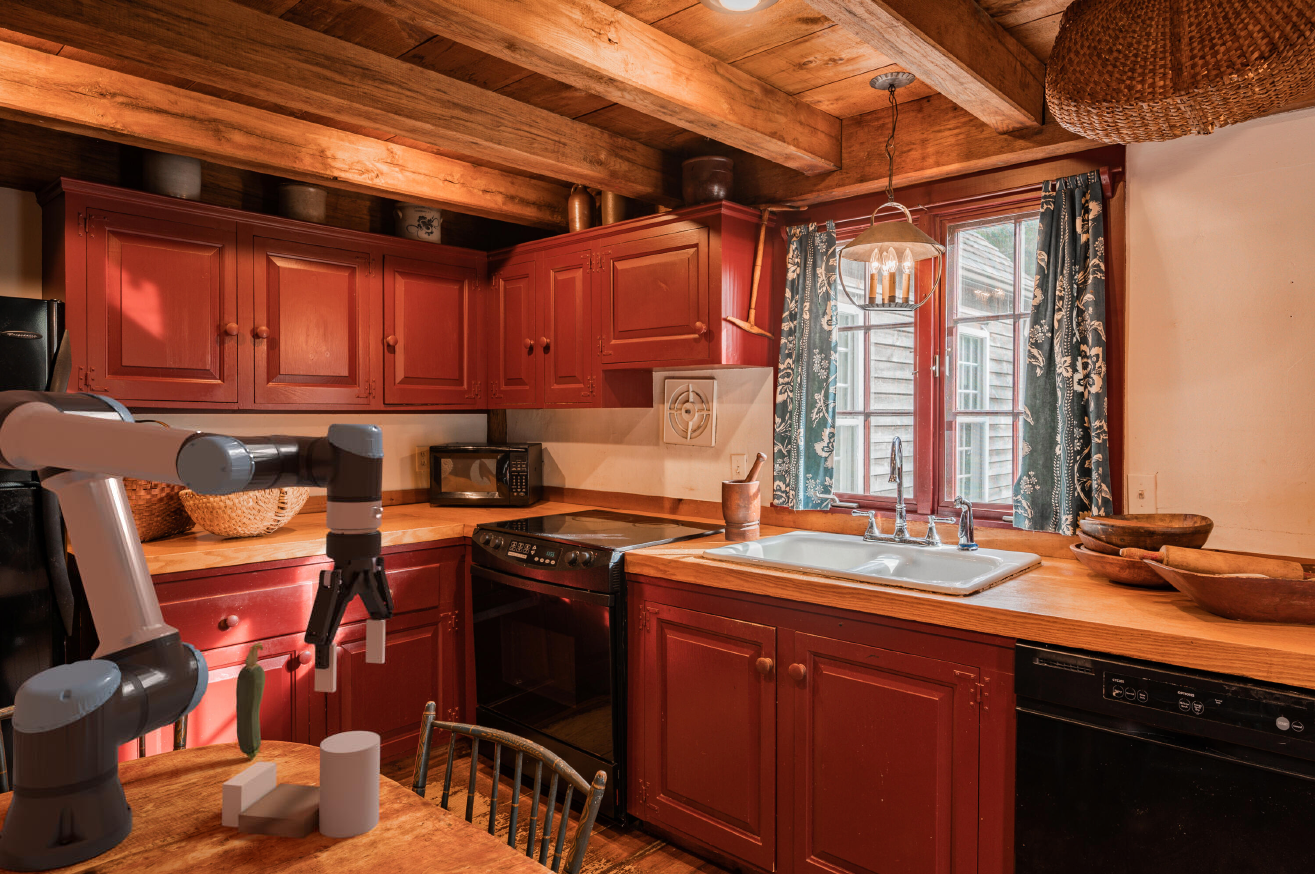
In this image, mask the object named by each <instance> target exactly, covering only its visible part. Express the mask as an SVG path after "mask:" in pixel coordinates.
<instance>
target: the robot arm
mask: <svg viewBox="0 0 1315 874" xmlns="http://www.w3.org/2000/svg"><path fill="white" fill-rule="evenodd" d="M384 457H385V454H384V442H383V431H382V428H381V427H380V426H379V425H377V424H374V423H373V424H372V423H369V424H368V423H366V424H364V423H332V424H330V425H329V427H328V428H327V434H326V436H308V435H307V436H305V435H289V434H288V435H287V434H270V435H254V436H251V435H250V436H247V435H246V436H245V435H244V436H243V435H227V434H223V433H222V434H221V433H214V432H205V431H198V430H191V429H190V430H189V429H183V428H176V427H167V426H161V425H156V424H155V425H153V424H149V423H148V424H147V423H139V422H136V421H135V418H134V417H133V415H132V414H131V412H130V411H129V410H128V408H127V407H126V406H124V405H123V403H121V402H119V400H118V401H117V400H115V399H114V398H111V397H109V396H106V395H102V394H94V393H91V392H84V391H79V392H78V391H77V392H58V391H42V390H41V391H37V390H34V391H33V390H25V389H23V390H21V389H18V390H17V389H16V390H15V389H14V390H6V391H0V469H6V470H23V471H37V475H38V478H39V482H40V485H41V487H42V488H44V489H46V490H49V491H50V492H52V493H54V494H56V496H57V499H58V502H59V505H60V509H61V512H62V517H63V519H64V523H65V526H66V529H67V530H66V531H67V533H68V537H69V540H70V543H71V547H72V552H73V554H74V558H75V561H76V565H77V568H78V571H79V574H80V578H81V582H82V586H83V589H84V593H85V595H86V599H87V603H88V606H89V609H90V612H91V617H92V620H93V624H94V627H95V630H96V634H97V639H98V640H99V645H98V647H97V648H96V650H95V652H94V653H93V655H92V656H91V657H90V658H91V659H88V660H79V661H75V662H73V663H71V664H66V663H65V664H61V665H58V666H55V667H51V668H48V669H46V670H44V671H41V672H39V673H38V674H35V675H33V676H32V677H30V678H29V679H27V680H26V681H25V682H23V683H22V684H21V685H20V687H19V688H18V689H17V691H16V694H15V697H14V708H13V709H14V710H13V713H12V716H11V725H12V739H13V740H12V744H13V745H12V758H13V759H12V760H13V761H12V765H13V766H12V796H11V797H12V798H11V801H10V804H9V806H8V808H7V811H6V813H5V814H6V815H5V817H4V820H3V825H2V829H1V830H0V868H1V869H4V870H5V869H6V870H9V871H14V872H15V871H16V872H34V871H35V872H36V871H37V872H39V871H44V870H52V869H58V868H61V867H67V866H69V865H74V864H78V863H80V862H83V861H86V860H89V859H92V858H94V857H96V856H99V855H101V854H104V853H105V852H107V851H109V850H111V849H113V848H114V847H116V846H118V845H119V844H121V843H122V842H123V841H124V840H125V839H126V838H128V836H130V834H131V832H132V830H133V809H132V807H131V805H130V804H129V802H128V801H127V797H126V793H125V791H124V790H125V789H124V787H123V785H122V782H121V780H120V777H119V747H121V746H122V745H126V744H128V743H130V742H132V741H134V740H137V739H139V738H140V737H143V736H145V735H147V734H149V733H152V732H154V731H157V730H158V729H161V728H164V727H167V726H170V725H172V724H174V723H176V722H178V721H179V720H180V719H181V718H183V717H185V716H187V715H188V714H190V713H192V712H193V711H195V709H196V708H197V707H198V706H199V705H200V703H201V702H202V699H203V698H204V696H205V695H206V692H207V688H208V685H209V677H210V676H209V667H208V664H207V661H206V658H205V655H204V654H203V653H202V652H201V650H199V649H197V648H196V647H195V646H194V645H193V644H191V643H188V642H183V641H182V638H181V634H180V632H179V629H178V628H175V627H173V626H171V625H168V624H167V623H165V621H164V617H163V614H162V610H161V607H160V602H159V599H158V597H157V593H156V589H155V587H154V583H153V580H152V576H151V573H150V570H149V566H148V563H147V559H146V556H145V552H144V548H143V546H142V543H141V538H140V536H139V532H138V528H137V525H136V522H135V518H134V515H133V512H132V509H131V505H130V501H129V498H128V495H127V491H126V487H125V485H124V481H123V480H124V478H127V479H135V480H142V481H143V480H144V481H149V482H153V483H154V482H156V483H161V484H162V483H163V484H169V485H175V486H182V487H186V488H188V489H189V490H190V491H191V492H192V493H195V494H197V495H203V496H221V497H222V496H228V495H232V494H236V493H237V494H239V493H246V492H254V491H265V490H274V489H275V490H276V489H284V488H285V489H286V488H322V489H326V513H325V514H326V518H325V522H326V523H325V527H326V528H327V529H328V530H330V531H328V532H327V533H326V535H325V556H326V557H327V558H328V559H330V560H333V562H334V564H333V569H332V570H330V569H329V570H328V569H321V570H320V571H319V574H318V588H317V590H316V593H315V597H314V601H313V604H312V605H313V606H312V608H311V611H310V616H309V619H308V623H307V627H306V630H305V634H304V636H303V637H304V638H303V640H304V643H305V644H308V645H314V692H324V693H334V692H336V691H337V654H338V652H337V651H338V650H337V649H338V648H337V647H338V643H337V642H336V643H335V642H334V640H335V637H336V635H337V632H338V630H339V627H340V625H341V623H342V620H343V617H344V616H345V615H344V614H345V612H346V610H347V607H348V605H349V603H350V602H352V601H353V600H354V598H355V597H356V596H357V595H358V596H359V598H360V600H361V602H362V603H363V604H362V605H363V606H364V608H365V609H366V611H367V614H368V615H369V617H370V618H368V619H366V627H365V629H366V632H365V635H366V636H365V644H366V645H365V663H369V664H371V663H372V664H384V663H385V662H386V661H385V660H386V659H385V657H386V650H385V649H386V620H391V619H393V615H394V614H393V613H394V612H393V611H394V607H395V606H394V602H393V598H392V594H391V590H390V586H389V582H388V578H387V575H386V574H387V573H386V568H385V566H386V565H385V556H381V554H382V536H383V535H382V532H381V531H380V530H379V529H378V528H380V527H381V526H382V514H384V509H383V507H382V506H383V504H382V502H383V501H382V499H383V491H382V490H383V468H384V467H383V466H384V465H383V463H384V462H383V460H384Z"/></svg>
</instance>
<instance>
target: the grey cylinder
mask: <svg viewBox="0 0 1315 874" xmlns="http://www.w3.org/2000/svg"><path fill="white" fill-rule="evenodd" d="M380 760H381V735H379V734H378V733H376V732H373V731H367V730H366V731H365V730H352V731H345V732H340V733H337V734H333V735H331V736H328V737H326V738H324V739H323V740H322V741H321V742H320V745H319V786H320V795H319V826H318V831H319V832H320V834H321V835H323V836H325V837H329V838H332V839H333V838H335V839H343V838H344V839H346V838H353V837H356V836H360V835H362V834H363V835H364V834H365V833H368V832H370V831H371V830H373V829H374V828H375V827H377V826H378V823H379V821H380V779H381V778H380V774H381V773H380V767H381V765H380V764H381V761H380Z"/></svg>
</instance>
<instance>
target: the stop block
mask: <svg viewBox="0 0 1315 874" xmlns="http://www.w3.org/2000/svg"><path fill="white" fill-rule="evenodd" d="M276 786H277V762H270V761H269V762H268V761H257V762H255V763H253V764H252V765H251V766H249V767H248V768H246V769H244V770H243V771H241V772H240V773H238V774H237V775H234V776H233V777H231V778H229V779H228V780H227V781H225V782H223V783H222V794H221V795H222V799H221V800H222V801H221V802H222V803H221V804H222V809H221V814H222V815H221V826H223V827H232V828H238V815H239V814H240V813H241V812H243V811H244V810H245V809H247V808H248V807H249V806H251V805H252V804H253V803H255V802H256V801H258V800H259V799H260V798H262V797H263V796H264V795H266V794H267V793H268V792H270V791H271V790H272V789H274V788H275V787H276Z"/></svg>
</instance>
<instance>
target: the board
mask: <svg viewBox="0 0 1315 874" xmlns="http://www.w3.org/2000/svg"><path fill="white" fill-rule="evenodd" d="M319 795H320V785H319V786H318V785H317V786H316V785H307V784H306V785H305V784H295V783H278V785H276V787H275V788H274V789H272V790H271V791H270V792H268V793H267V794H266V795H264V796H263V797H262V798H260V799H259V800H258V801H256V802H255V803H253V804H252V805H251V806H249V807H248V808H247V809H245V810H244V811H243V812H241V813H240V814H239V815H238V827H237V829H238V830H237V832H238V833H243V834H250V835H251V834H252V835H253V834H254V835H264V836H273V837H274V836H275V837H284V838H285V837H286V838H296V839H305V838H306V837H308V835H310V834H311V833H312V832H313V831H314V830H316V829H317V827H319Z"/></svg>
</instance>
